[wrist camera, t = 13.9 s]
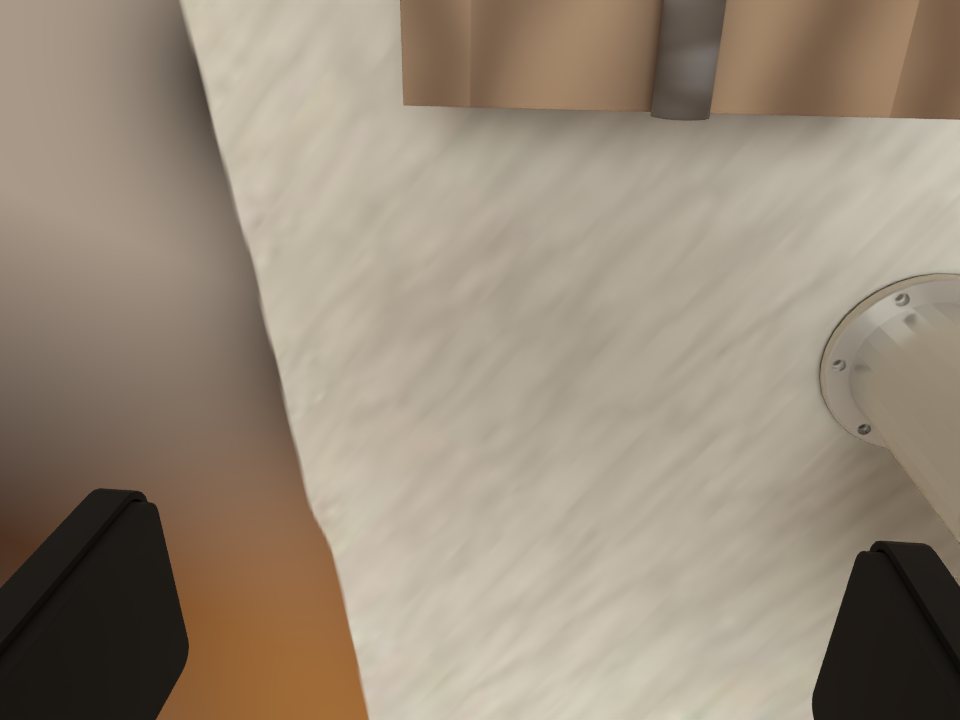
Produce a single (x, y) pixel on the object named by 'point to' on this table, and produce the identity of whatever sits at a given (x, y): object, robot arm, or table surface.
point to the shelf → (628, 49)
